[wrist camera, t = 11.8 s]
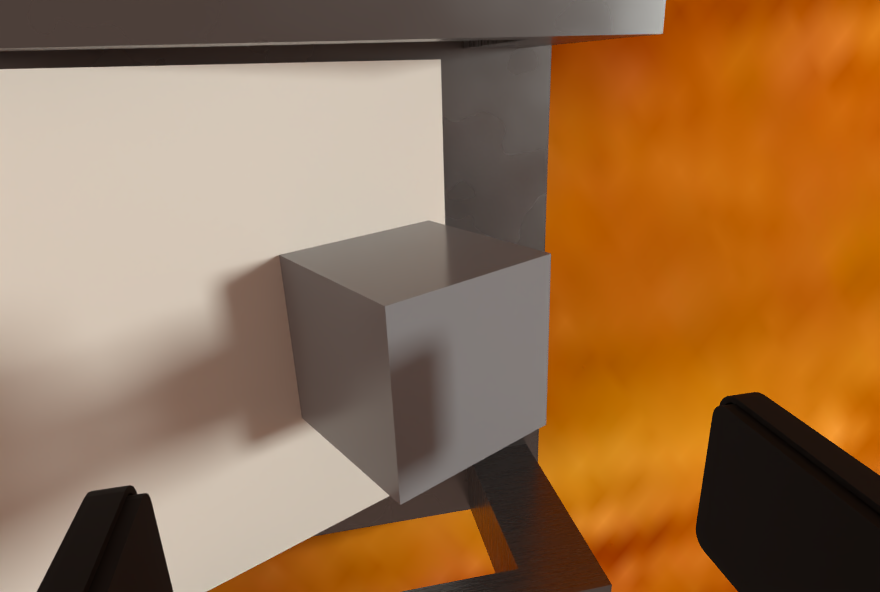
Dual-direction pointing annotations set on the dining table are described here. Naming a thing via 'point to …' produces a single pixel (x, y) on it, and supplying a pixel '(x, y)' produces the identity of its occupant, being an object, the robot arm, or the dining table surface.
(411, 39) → the trapdoor frame
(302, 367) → the slate block
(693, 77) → the dining table surface
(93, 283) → the trapdoor
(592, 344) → the dining table surface
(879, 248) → the dining table surface
